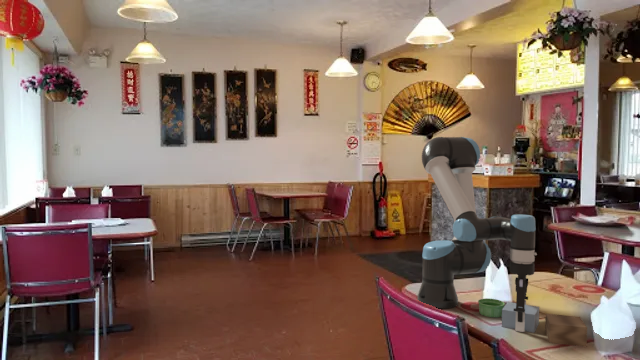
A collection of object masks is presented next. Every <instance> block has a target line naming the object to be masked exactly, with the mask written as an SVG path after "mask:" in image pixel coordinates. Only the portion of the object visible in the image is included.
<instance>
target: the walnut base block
mask: <svg viewBox="0 0 640 360" xmlns="http://www.w3.org/2000/svg"><path fill="white" fill-rule="evenodd" d="M544 317H545V319H544V321H545V322H544V332H545V335H546V338H547V340H548V343H550V342H552V344H558V345H559V344H560V345H566V346H567V345H568V346H576V345H577V346H578V347H585V346H586V347H587V345H588V344H587V343H588V339H587V338H588V327H587V324H585V322H584V320H583V319H582V317H581V316H575V315H574V316H573V315H565V314H563V315H562V314H553V313H545V316H544Z"/></svg>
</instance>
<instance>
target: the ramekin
mask: <svg viewBox="0 0 640 360" xmlns="http://www.w3.org/2000/svg"><path fill="white" fill-rule="evenodd" d="M477 303H478V309H479V311H478V312H479V314H480V315H482V316H483V317H488V318H500V317H501V318H502V309H503V308H504V306H505V305H506V303H505V302H504V301H502V300H500V299H496V298H495V299H494V298H480V299H478V301H477Z"/></svg>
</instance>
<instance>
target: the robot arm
mask: <svg viewBox="0 0 640 360" xmlns="http://www.w3.org/2000/svg"><path fill="white" fill-rule="evenodd" d="M480 158H481V150H480V146H479V144H478V143H477V141H475V140H474V139H473V138H470V137H464V136H458V137H455V136H452V137H451V136H448V137H447V136H445V137H444V136H437V137H434V138H432V139H430V140H428V142H426V144H425V145H424V147H423V149H422V152H421V163H422V166H423V168H424V170H425V172H426V173H427V174H429V175H430V176H431V178H432V180H433V182H434V183H435V186H436V187H437V189H438V192H439V193H440V195H441V197H442V200H443V201H444V203H445V205H446V207H447V208H448V211H449V212H450V214H451V216H452V218H453V221H454V222H453V225H452V231H453V238H452V239H451V240H447V239H445V240H444V239H443V240H439V239H438V240H433V241H429V242H427V243H425V244H424V246H423V248H422V255H421V256H422V257H421V258H422V283H421V285H420V288H419V291H418V293H417V300H419V301H421V302H423V303H426V304H429V305H432V306H435V307H437V308H436V309H452V308H454V307H457V306H458V305H459V297H458V294H457V290H456V287H455V285H454V279H455V278H454V277H455V276H454V275H465V274H466V275H467V274H478V273H482V272H485V271H486V270H487V269H488V268H489V266H490V263H491V260H492V252H491V248H490V247H489V245H488V243H486V242H484V241H493V240H504V241H509V242H510V247H509V249H510V250H509V259H510V261H509V271H510V273H511V274H514V275H517V277H515V279H514V284H515V293H516V302H515V303H516V309H515V308H514V311H516V323H515V329H514V330H515V332H521V333H525V332H526V331H525V305H527V301H528V300H529V296H527V293H528V286H529V278H527V276H532V275H534V274H535V258H536V257H535V256H537V255H538V254H537V252H536V251H535V249H536V230H537V228H536V218H535V216H533V215H530V214H521V213H520V214H512V215H511V216H510V217H511V218H507V217H503V216H490V217H486V218H484V217H481V218H479V217H478V215H477V212H476V211H477V210H476V202H475V201H476V200H475V190H474V179H473V172H474V171H475V170H476V166H477V165H478V164H479V162H480ZM519 307H522V308H519Z"/></svg>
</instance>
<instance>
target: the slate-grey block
mask: <svg viewBox="0 0 640 360" xmlns="http://www.w3.org/2000/svg"><path fill="white" fill-rule="evenodd" d="M514 308H515V309H516V302H511V301H507V303H505V306H504V308H503V309H502V316H501V327H502V328H507V329H512V330H515V323H516V311H514ZM519 308H522V307H519ZM539 325H540V306H537V305H530V304H526V305H525V331H524V332H527V333H536V330H537V329H538V326H539Z"/></svg>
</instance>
